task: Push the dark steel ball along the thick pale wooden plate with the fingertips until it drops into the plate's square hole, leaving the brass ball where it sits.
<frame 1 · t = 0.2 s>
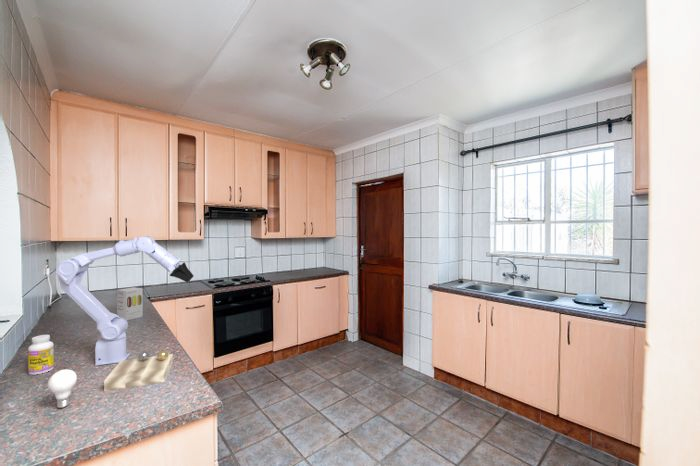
hand: (190, 279, 131), 31 cm above the worktop, tool tilted 45°, fingers open, 7 cm apart
lightbulb: (63, 407, 91), on the worktop
brass ball: (162, 355, 115), point 5 cm above the worktop, touching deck
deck: (141, 375, 110), on the worktop
supplement bottle: (41, 371, 113), on the worktop
steel ball: (143, 355, 115), point 5 cm above the worktop, touching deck
supplement box: (130, 318, 179), on the worktop
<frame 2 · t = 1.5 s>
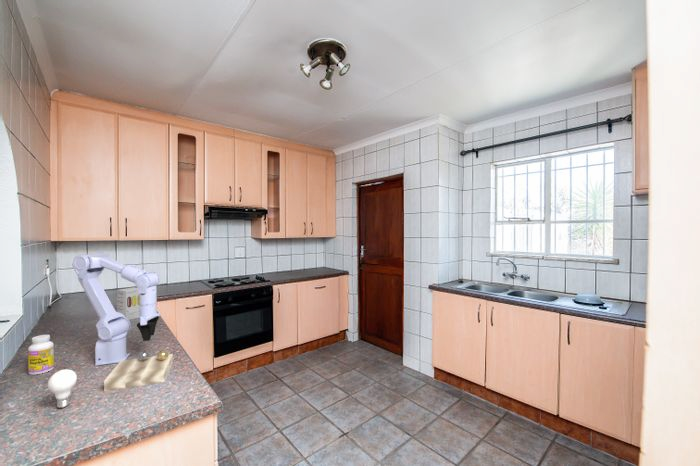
hand: (148, 337, 121), 9 cm above the worktop, tool pointing down, fingers open, 5 cm apart
nothing on the worktop moved.
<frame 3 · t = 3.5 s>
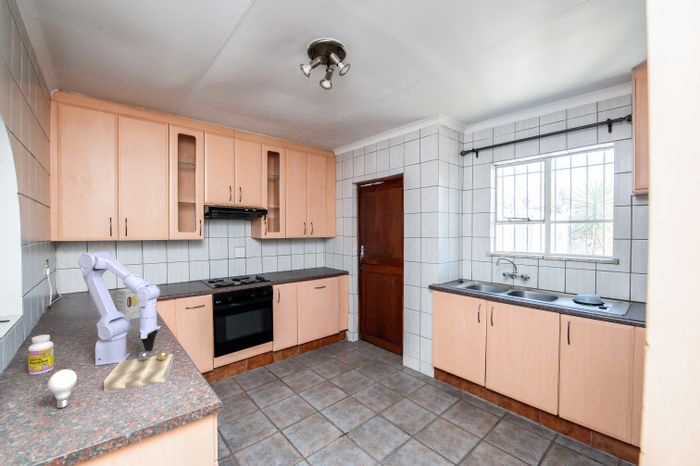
hand: (149, 350, 122), 4 cm above the worktop, tool pointing down, fingers closed
nothing on the worktop moved.
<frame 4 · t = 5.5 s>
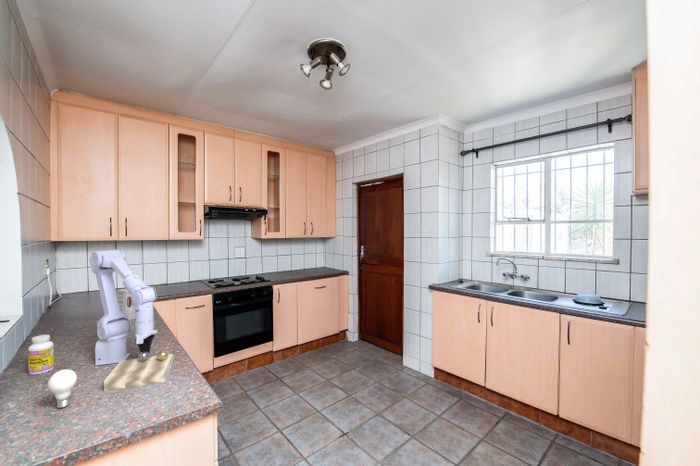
hand: (145, 356, 116), 4 cm above the worktop, tool pointing down, fingers closed, pressing on steel ball
steel ball: (143, 356, 114), point 5 cm above the worktop, tilted 7°, touching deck, gripper
everything else where it was.
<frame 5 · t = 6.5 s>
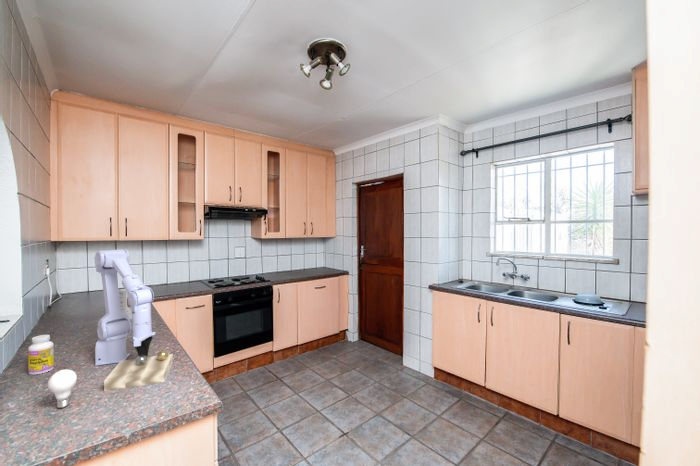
hand: (143, 358, 112), 5 cm above the worktop, tool pointing down, fingers closed, pressing on steel ball
steel ball: (141, 359, 111), point 5 cm above the worktop, tilted 120°, touching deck, gripper
everything else where it was.
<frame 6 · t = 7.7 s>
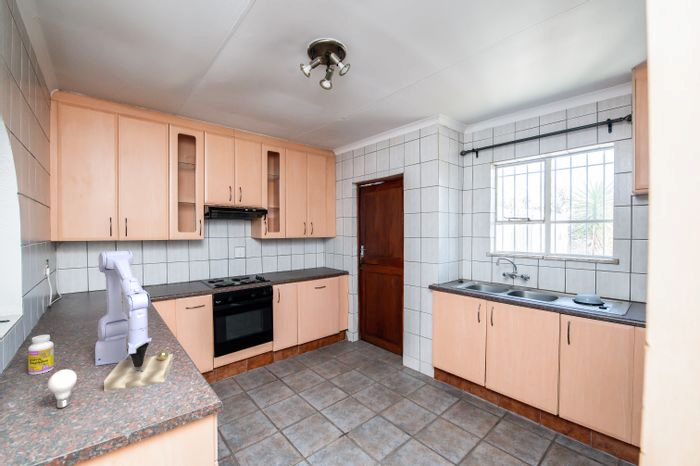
hand: (138, 366, 108), 4 cm above the worktop, tool pointing down, fingers closed
steel ball: (137, 374, 107), point 2 cm above the worktop, tilted 134°
everything else where it was.
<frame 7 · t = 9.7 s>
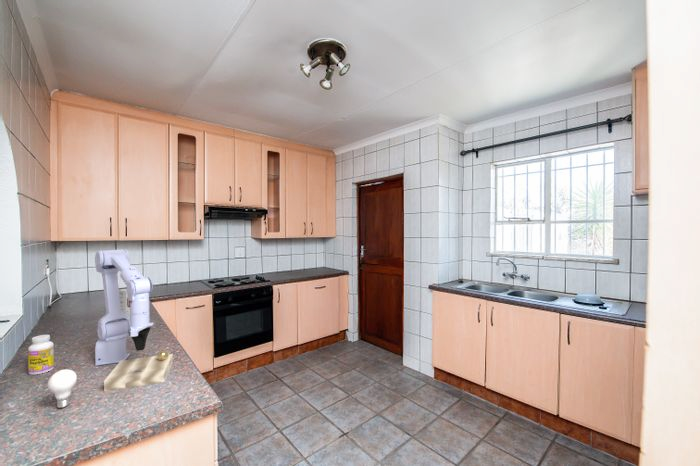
hand: (140, 349, 110), 9 cm above the worktop, tool pointing down, fingers closed
steel ball: (137, 375, 107), point 2 cm above the worktop, tilted 111°
everything else where it was.
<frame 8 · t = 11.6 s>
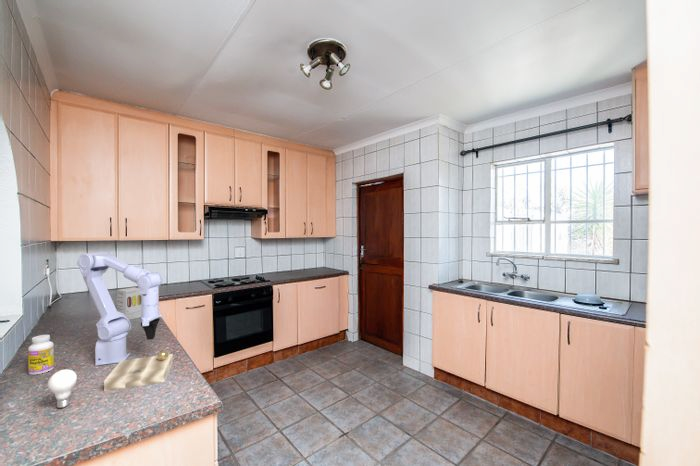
hand: (150, 338, 120), 9 cm above the worktop, tool pointing down, fingers closed
nothing on the worktop moved.
at the end: steel ball 0.4 cm from the target spot on the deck, point 1.7 cm above the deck's base; brass ball moved 0.0 cm from its start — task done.
